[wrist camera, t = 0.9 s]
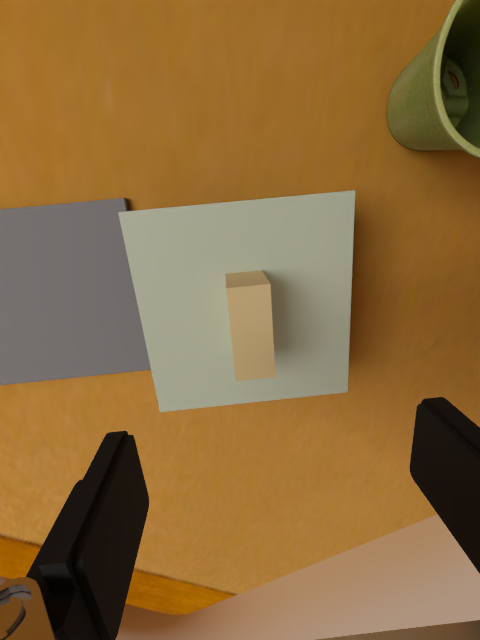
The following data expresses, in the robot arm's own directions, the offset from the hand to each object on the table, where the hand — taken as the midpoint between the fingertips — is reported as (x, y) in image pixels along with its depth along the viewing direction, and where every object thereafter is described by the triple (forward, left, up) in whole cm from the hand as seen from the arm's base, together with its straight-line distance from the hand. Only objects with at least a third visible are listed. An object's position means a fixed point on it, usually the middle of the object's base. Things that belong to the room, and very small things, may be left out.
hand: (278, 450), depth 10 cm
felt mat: (-1, -16, -19) cm, 25 cm away
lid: (0, 0, -14) cm, 14 cm away
